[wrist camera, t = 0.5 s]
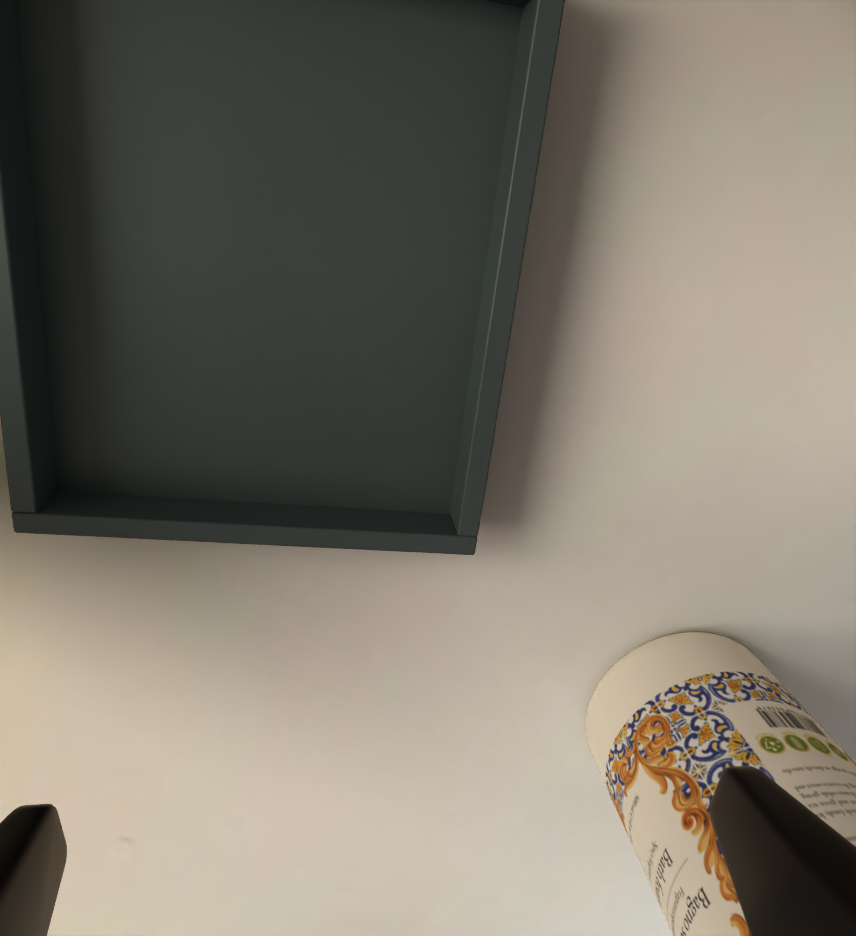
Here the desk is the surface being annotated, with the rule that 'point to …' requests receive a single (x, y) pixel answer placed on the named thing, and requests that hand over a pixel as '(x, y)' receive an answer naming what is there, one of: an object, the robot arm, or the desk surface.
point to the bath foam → (704, 764)
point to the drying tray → (263, 263)
